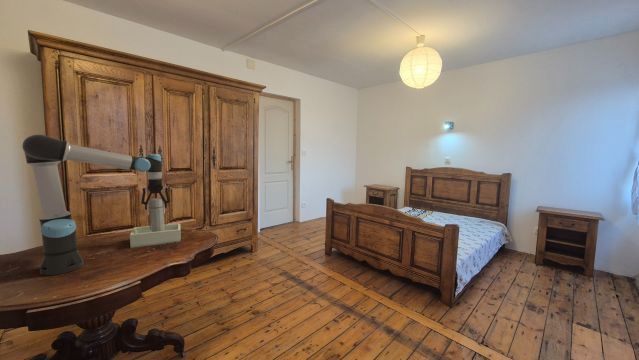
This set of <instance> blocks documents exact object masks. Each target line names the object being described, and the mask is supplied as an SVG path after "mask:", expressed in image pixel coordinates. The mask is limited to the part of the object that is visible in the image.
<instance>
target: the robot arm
mask: <svg viewBox="0 0 639 360" xmlns="http://www.w3.org/2000/svg"><path fill="white" fill-rule="evenodd" d="M21 146H22V147H21V148H22V150H23V152H24V157H25V160H26V164H27V165H29V166H30V167H32V171H33V175H34V180H35V185H36V190H37V194H38V199H39V203H40V208H41V211H42V213H41V215H40V217H38V220H39V224H40V234H41V237H42V238H41V239H42V240H41V241H42V248H43V249H42V250H43V257H42V262H41V263H40V266H39V274H40V275H42V276H57V275H63V274H67V273H70V272H73V271H76V270H77V269H80V268H81V267H83V265H84V259H83V257H82V256H81V254H80V252H79V250H78V240H77V224H76V222H75V220H73V218H72V213H71V212H70V211H68V210H67V207H66V202H65V197H64V192H63V187H62V182H61V177H60V173H59V168H58V164H60V163H61V162H65V161H67V160H68V161H74V162H78V163H84V164H85V163H86V164H93V165H99V166H105V167H112V168H118V169H124V170H126V171H135V172H137V171H138V172H141V173H144V172H147V178H148V180H147V184H148V185H147V187H142V189H141V190H142V195H141V203H140V204H142V205H144V210H145V211H146V215H147V216H150V208H149V207H150V203H149V202H150V199H151V197H152V195H153V194H159V196H160V198H162V201H163V206H162V207H163V212H164V215H165V214H166V209H167V207H168V203H170V202H171V199H170V196H169V191H168V189H169V187H168V186H164V185H163V179H162V177H163V171H162V169H163V168H162V156H161V154H159V153H147V154H146V156H138V157H137V156H132V155H128V154H123V153H118V152H112V151H107V150H101V149H96V148H91V147H87V146H86V147H85V146H81V145H76V144H70V143H69V141H65V140H61V139H58V138H54V137H51V136H49V135H45V134H33V135H29V136H27V137H26V138H25V139H24V140H23V142H22V145H21ZM162 190H163V191H164V192H165V196H164V194H163V192H162ZM147 191H149V194H148V196H147V198H146V192H147ZM165 197H166V198H165ZM145 199H146V201H145Z"/></svg>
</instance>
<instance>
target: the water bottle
mask: <svg viewBox="0 0 639 360" xmlns="http://www.w3.org/2000/svg"><path fill="white" fill-rule="evenodd" d="M163 203H164V201H163V200H162V198H161V197H153V198H150V199H149V225H148V226H150V230H152V232H159V231H165V229H164V225H165V217H164V215H165V214H164V212H163Z"/></svg>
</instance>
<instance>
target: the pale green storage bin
mask: <svg viewBox="0 0 639 360" xmlns="http://www.w3.org/2000/svg"><path fill="white" fill-rule="evenodd" d="M164 229H165V231H159V232H152V230H150V226H149V225H146V226H138V227H137V226H136V227H133V228H132V230H131V232H130V234H129V243H130V244H129V245H130V249H134V248H143V247H149V246H158V245H165V244H166V245H167V243H168V244H175V243H174V242H176V243H181V239H182V238H181V232H182V231H181V223H179V222H178V223H170V224H169V223H167V224H164Z"/></svg>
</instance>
